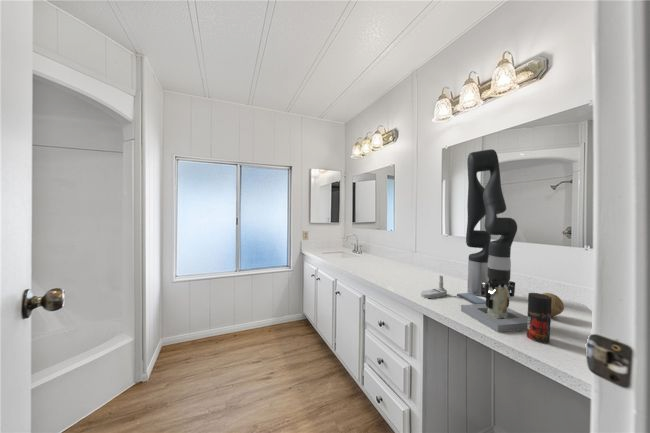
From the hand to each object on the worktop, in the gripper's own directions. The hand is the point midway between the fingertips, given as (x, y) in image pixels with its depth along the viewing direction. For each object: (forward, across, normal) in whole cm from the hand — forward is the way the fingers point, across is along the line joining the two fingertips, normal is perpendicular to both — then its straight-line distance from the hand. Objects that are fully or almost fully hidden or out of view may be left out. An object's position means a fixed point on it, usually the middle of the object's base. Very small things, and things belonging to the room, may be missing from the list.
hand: (497, 307), depth 97 cm
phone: (+5, -6, -19) cm, 20 cm away
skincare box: (+4, 0, 0) cm, 4 cm away
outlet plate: (+5, 0, 0) cm, 5 cm away
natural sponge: (+5, -23, +2) cm, 24 cm away
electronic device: (+5, +9, -28) cm, 30 cm away
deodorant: (+5, -1, +15) cm, 16 cm away
